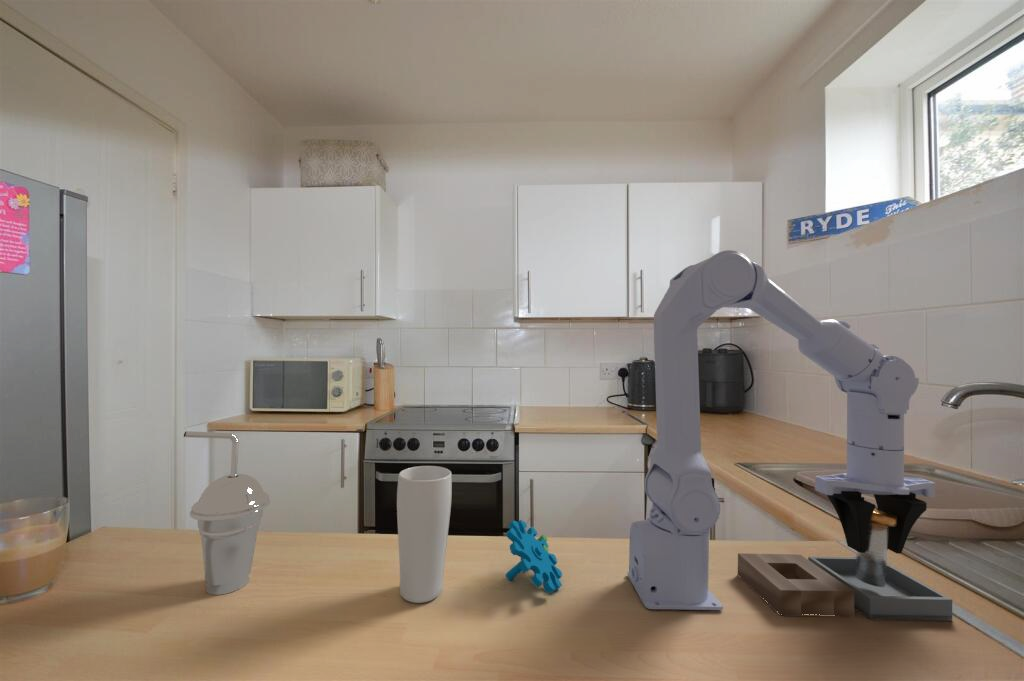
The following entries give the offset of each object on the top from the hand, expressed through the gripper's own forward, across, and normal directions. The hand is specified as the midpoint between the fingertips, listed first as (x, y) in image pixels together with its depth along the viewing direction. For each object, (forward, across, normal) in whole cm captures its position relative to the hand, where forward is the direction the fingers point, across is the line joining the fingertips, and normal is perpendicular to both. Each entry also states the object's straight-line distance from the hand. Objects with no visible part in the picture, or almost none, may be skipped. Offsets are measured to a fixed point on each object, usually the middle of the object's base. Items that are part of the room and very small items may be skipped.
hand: (873, 549), depth 54 cm
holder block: (+6, -11, 0) cm, 13 cm away
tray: (+6, 0, 0) cm, 6 cm away
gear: (+6, -44, +2) cm, 45 cm away
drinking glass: (+6, -59, -1) cm, 59 cm away
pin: (+4, 0, 0) cm, 4 cm away
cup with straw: (+6, -84, 0) cm, 84 cm away
